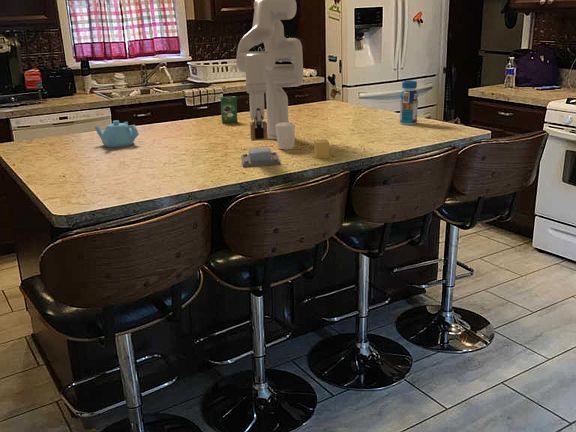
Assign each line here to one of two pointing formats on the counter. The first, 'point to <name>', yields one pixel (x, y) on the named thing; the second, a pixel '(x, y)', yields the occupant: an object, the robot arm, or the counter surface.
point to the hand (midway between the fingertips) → (259, 136)
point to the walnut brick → (252, 130)
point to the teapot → (117, 134)
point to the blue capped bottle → (408, 103)
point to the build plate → (260, 163)
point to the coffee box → (229, 109)
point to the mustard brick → (321, 148)
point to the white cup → (285, 135)
